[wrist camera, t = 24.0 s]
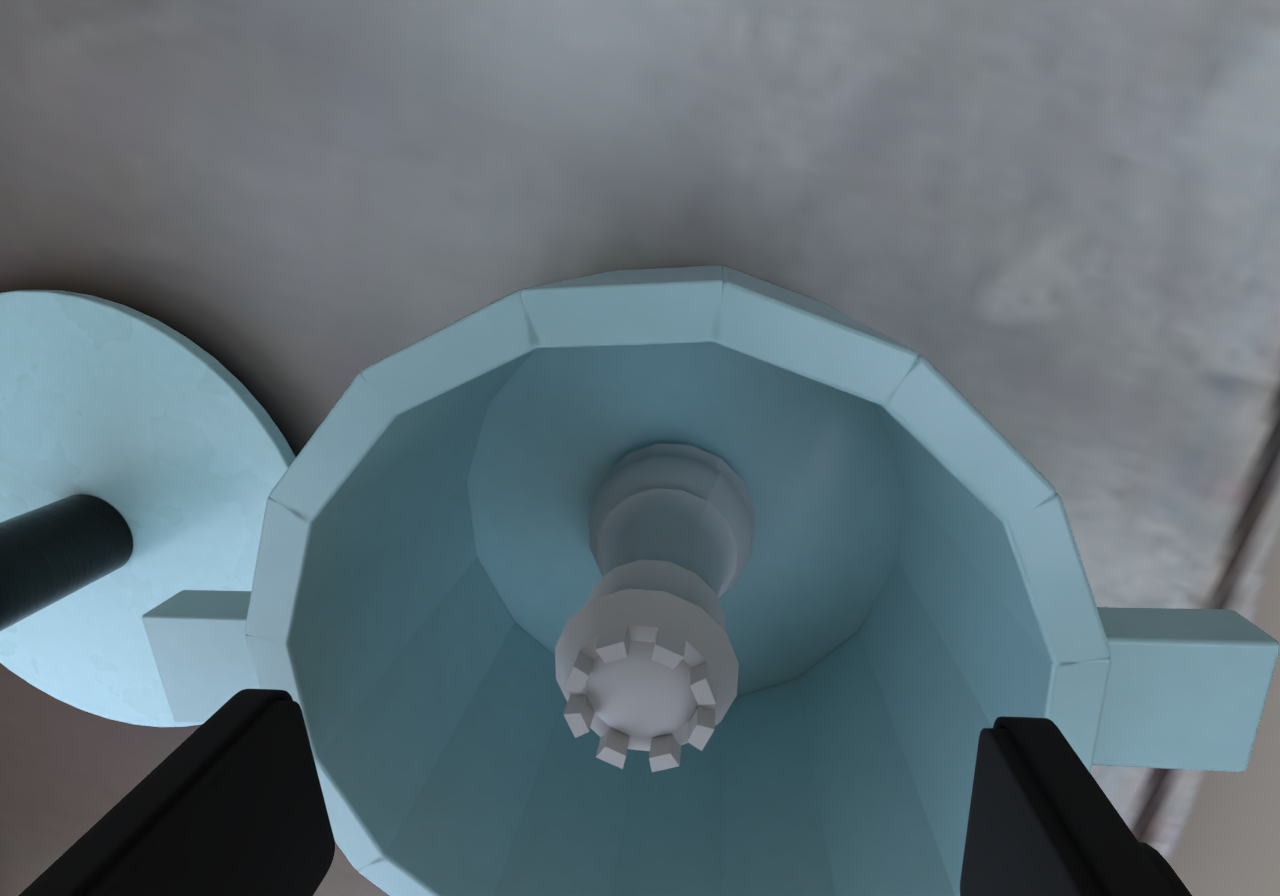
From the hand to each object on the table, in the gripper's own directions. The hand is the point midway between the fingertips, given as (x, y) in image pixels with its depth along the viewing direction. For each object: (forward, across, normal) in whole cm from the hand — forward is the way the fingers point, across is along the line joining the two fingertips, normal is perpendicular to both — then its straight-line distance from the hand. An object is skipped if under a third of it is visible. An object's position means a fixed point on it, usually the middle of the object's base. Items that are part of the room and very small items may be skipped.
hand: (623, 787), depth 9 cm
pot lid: (+10, +18, 0) cm, 20 cm away
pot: (+10, 0, 0) cm, 10 cm away
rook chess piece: (+10, 0, 0) cm, 10 cm away
